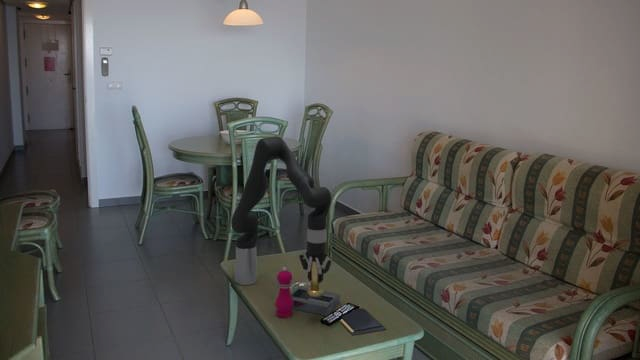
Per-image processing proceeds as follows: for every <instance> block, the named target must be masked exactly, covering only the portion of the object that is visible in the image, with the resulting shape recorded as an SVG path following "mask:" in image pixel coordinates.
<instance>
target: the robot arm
mask: <svg viewBox="0 0 640 360" xmlns="http://www.w3.org/2000/svg"><path fill="white" fill-rule="evenodd" d="M273 160H281V162H283V163H284V164H285V167H286V175H287V178H288V180H289V182H291V184H292V185H293V186H294V187H295V189H297V190H298V193H299V195H300V196H301V198H302V202H303V203H304V204H305V205H306V207H308V208H311V209H314V210H313V211H311V212H310V213H308V216H307V231H306V248H305V249H306V250H305V253H304V252H303V253H301V254H299V255H298V257H299V260H300V264H301V265H302V269H303V270H305V271H307V280H308V282H311V265H312V261H316V263H317V268H318V271H319V274H318V283H320V284H321V283H322V282H323V281H324V275H325V274H326V273H327V272H329V270H330V268H331V265H332V264H333V261H334V259H333V258H329V256H328V255H327V240H328V239H327V217H328V213H329V210H330V207H331V203H332V194H331V191H330V189H329V188H327V187H325V186H320V187H315V188H314V186H315V181H314V179H313V177H312V176H311V175H310V174H309V172H307V171H306V170H305V169H304V168H303V166H302V165H301V164H300V162H298V160H297V158H296V157H295V155H294V154H293V153H292V151H291V149H290V147H289V146H288V144H287V143H286V141H285V140H283V138H282V137H280V136H277V135H276V136H269V137H263V138H260V139H259V140H258V141H257V143H256V146H255V150H254V154H253V159H252V163H251V166H250V170H249V174H248V176H247V178H246V182H245V184H244V187H243V191H242V193H241V196H240V200H239V202H238V204H237V206H236V208H235V210H234V212H233V214H232V216H231V222H230V224H231V225H230V226H231V228H232V230H233V232H234V233H237V234H242V233H243V234H242V235H241V236H239V237H238V238H237V239H236V240H235V261H234V262H233V263H234V264H233V269H234V270H233V271H234V272H233V273H234V279H233V280H234V283H236V284H238V285H241V286H251V285H253V284H256V283H257V281H258V280H257V279H258V277H257V241H258V237H259V236H258V234H259V233H258V232H259V219H258V215H257V213H256V212H255V211H254V210H253V209H254V208H255V207H256V206H257V205H258V204H259V203H260V202H261V201H262V200H263V198H264V197H265V195H266V192H267V190H268V187H269V179H268V177H267V174H266V166H267V164H268V162H269V161H273ZM324 262H325V267H324Z"/></svg>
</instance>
